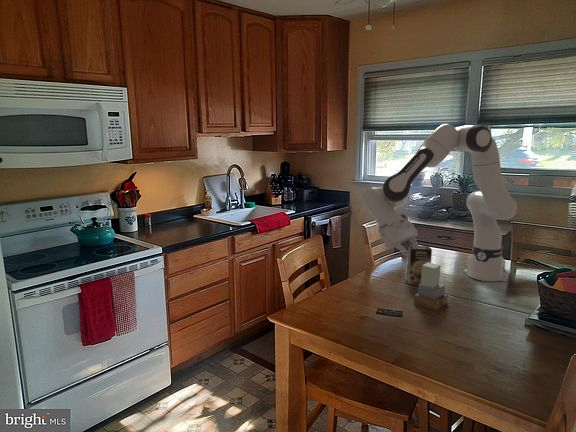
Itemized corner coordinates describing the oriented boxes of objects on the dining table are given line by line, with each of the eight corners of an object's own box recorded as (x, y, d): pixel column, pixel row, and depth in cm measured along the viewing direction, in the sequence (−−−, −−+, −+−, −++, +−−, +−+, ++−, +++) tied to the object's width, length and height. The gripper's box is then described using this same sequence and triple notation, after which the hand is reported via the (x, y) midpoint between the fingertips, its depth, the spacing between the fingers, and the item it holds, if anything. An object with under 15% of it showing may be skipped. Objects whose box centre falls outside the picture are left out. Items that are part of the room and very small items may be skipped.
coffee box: (408, 284, 180) (410, 249, 177) (406, 279, 186) (407, 245, 183) (430, 284, 179) (432, 249, 176) (426, 279, 185) (428, 245, 182)
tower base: (425, 298, 166) (425, 288, 165) (446, 304, 159) (447, 294, 158) (414, 304, 159) (414, 294, 159) (436, 311, 153) (436, 301, 152)
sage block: (426, 281, 161) (428, 262, 160) (438, 284, 158) (440, 265, 156) (420, 284, 158) (422, 265, 156) (433, 288, 154) (434, 268, 153)
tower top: (428, 289, 164) (428, 280, 163) (444, 295, 158) (445, 285, 157) (418, 294, 159) (418, 284, 158) (434, 299, 154) (435, 289, 153)
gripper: (381, 222, 157) (403, 251, 152) (408, 214, 171) (428, 240, 166) (371, 231, 161) (392, 260, 156) (398, 223, 175) (418, 249, 170)
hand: (411, 250), depth 161 cm, fingers open, 8 cm apart
